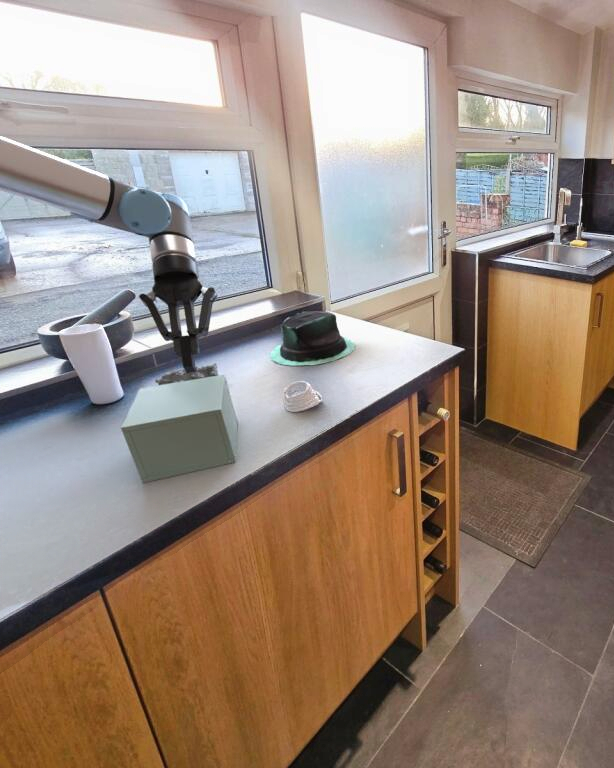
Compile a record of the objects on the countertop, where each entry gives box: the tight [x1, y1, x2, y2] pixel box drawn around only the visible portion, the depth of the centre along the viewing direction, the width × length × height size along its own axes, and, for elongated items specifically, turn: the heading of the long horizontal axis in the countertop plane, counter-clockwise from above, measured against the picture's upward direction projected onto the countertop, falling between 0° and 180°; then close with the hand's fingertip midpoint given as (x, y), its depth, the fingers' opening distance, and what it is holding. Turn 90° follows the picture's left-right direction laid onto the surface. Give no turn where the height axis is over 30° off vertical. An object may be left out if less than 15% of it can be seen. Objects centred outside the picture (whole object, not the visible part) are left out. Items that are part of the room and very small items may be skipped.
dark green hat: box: [269, 310, 356, 367], centre depth 124 cm, size 15×19×20 cm
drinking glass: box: [58, 323, 125, 405], centre depth 97 cm, size 7×7×15 cm
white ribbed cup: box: [281, 380, 324, 413], centre depth 96 cm, size 8×7×5 cm
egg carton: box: [155, 362, 219, 386], centre depth 104 cm, size 11×8×4 cm
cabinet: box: [120, 374, 239, 484], centre depth 81 cm, size 15×13×10 cm
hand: (189, 369), depth 93 cm, fingers closed
